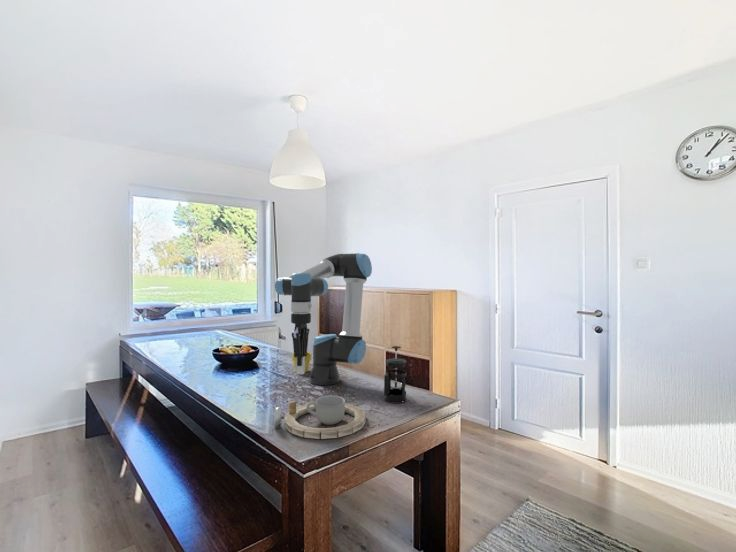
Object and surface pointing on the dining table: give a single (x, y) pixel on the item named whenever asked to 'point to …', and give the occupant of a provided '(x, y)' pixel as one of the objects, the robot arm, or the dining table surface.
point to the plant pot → (307, 361)
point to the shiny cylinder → (277, 417)
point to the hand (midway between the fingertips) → (300, 373)
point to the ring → (323, 432)
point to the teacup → (328, 409)
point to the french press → (395, 389)
